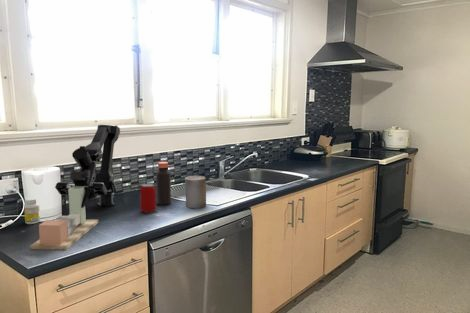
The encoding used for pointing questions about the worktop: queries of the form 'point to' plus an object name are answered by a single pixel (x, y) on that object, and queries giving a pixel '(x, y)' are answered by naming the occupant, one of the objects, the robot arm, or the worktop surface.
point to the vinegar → (163, 184)
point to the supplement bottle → (31, 211)
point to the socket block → (53, 232)
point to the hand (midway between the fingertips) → (75, 207)
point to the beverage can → (147, 198)
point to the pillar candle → (195, 191)
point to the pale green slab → (77, 204)
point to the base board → (72, 231)
